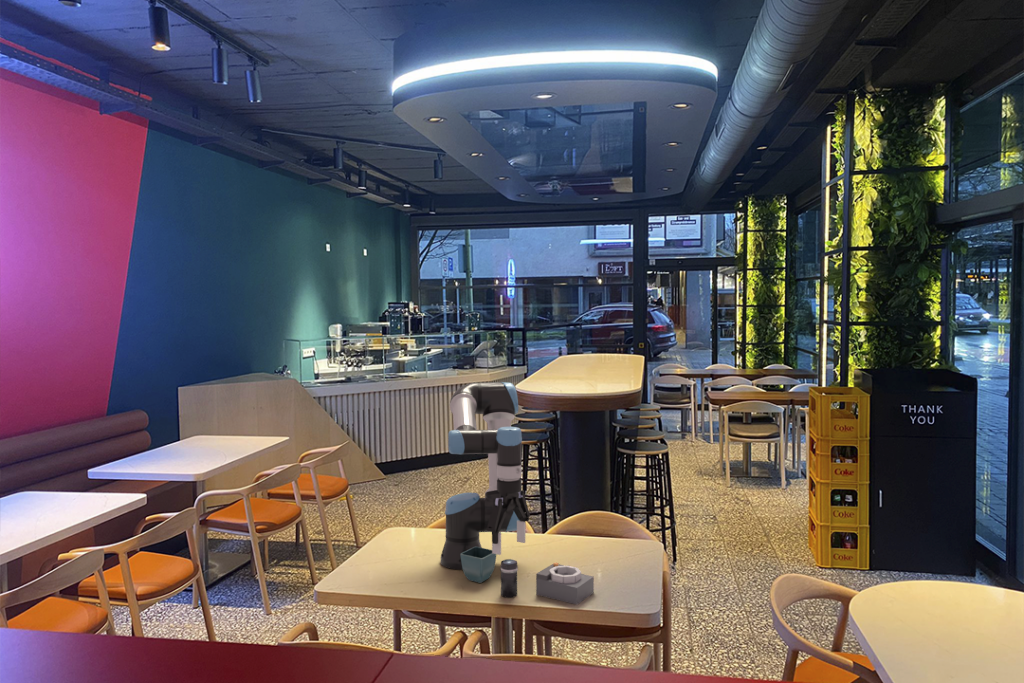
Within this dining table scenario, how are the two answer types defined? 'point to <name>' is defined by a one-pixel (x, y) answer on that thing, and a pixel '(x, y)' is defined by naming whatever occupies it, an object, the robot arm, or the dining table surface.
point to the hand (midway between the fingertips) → (509, 547)
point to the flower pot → (478, 563)
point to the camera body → (564, 583)
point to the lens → (509, 578)
